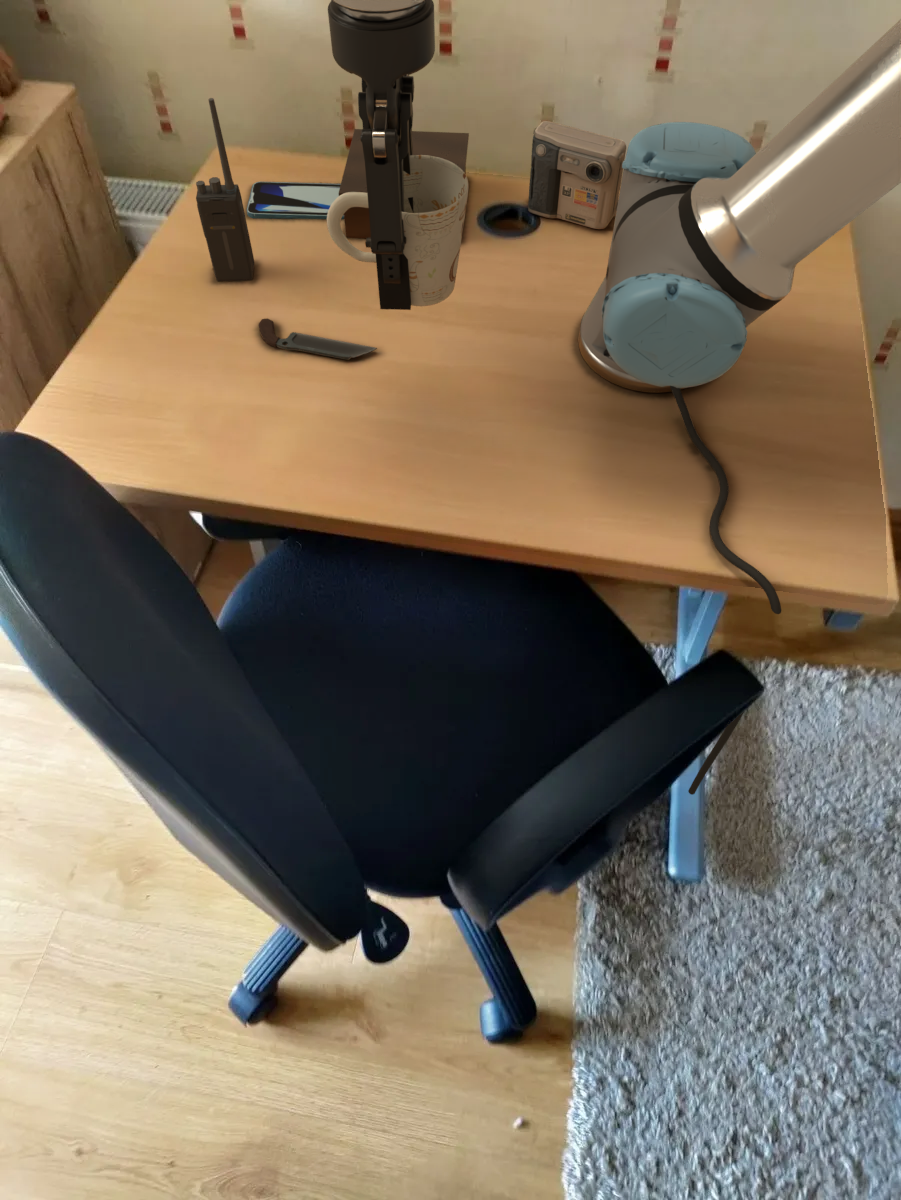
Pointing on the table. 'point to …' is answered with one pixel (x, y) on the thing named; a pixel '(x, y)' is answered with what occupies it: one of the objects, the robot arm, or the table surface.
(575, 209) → the camera
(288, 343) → the knife
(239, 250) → the walkie-talkie
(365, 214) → the stand
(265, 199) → the smartphone
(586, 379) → the table surface
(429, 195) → the mug
